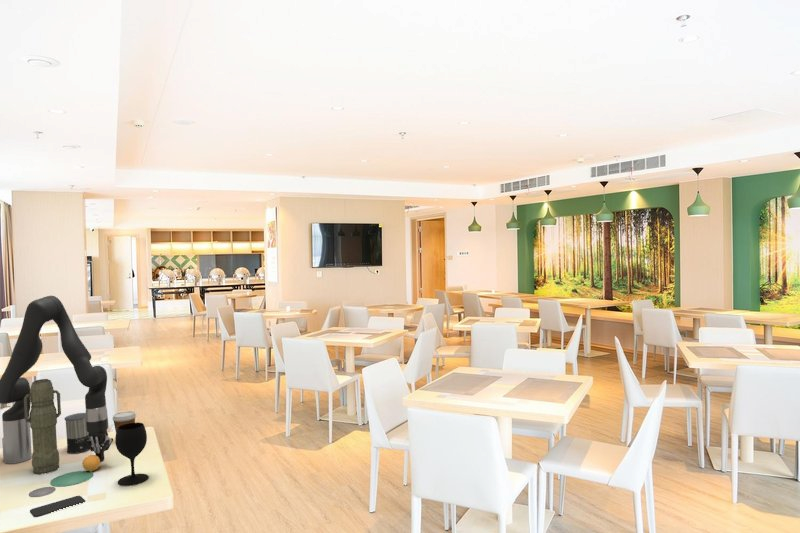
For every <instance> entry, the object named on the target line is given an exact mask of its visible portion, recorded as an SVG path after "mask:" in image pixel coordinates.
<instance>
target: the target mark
mask: <svg viewBox="0 0 800 533" xmlns="http://www.w3.org/2000/svg"><path fill="white" fill-rule="evenodd" d="M93 476H94V471H87V470H76V471H70V472H67V473H63V474H60V475H58V476H56V477H54V478H52V479H51V480H50V482H49V484H50V485H51V487H57V488H58V487H70V486H75V485H79V484H81V483H85V482H86V481H89V480H91V479H92V478H93Z"/></svg>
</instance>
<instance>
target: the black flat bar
mask: <svg viewBox="0 0 800 533" xmlns="http://www.w3.org/2000/svg"><path fill="white" fill-rule="evenodd" d="M83 502H84V503H86V500H85V498H83V496H81V495H76V496H72V497H67V498H64V499H61V500H57V501H54V502H51V503H47V504H44V505H41V506H38V507H33V508H31V509H30V510H29V513H30V514H31V515H32V516H33V517H34V518H39V517H42V516H45V515H48V514H52V513H51V512H53V513H55V512H54V511H56V512H58V511H57V510H59V509H62V510H64V509H63V508H65V509H67V508H66V507H69V506H72V507H74V506H73V505H75V506H77V505H76V504H78V505H80V504H79V503H81V504H84V503H83ZM69 508H70V507H69ZM59 511H60V510H59Z"/></svg>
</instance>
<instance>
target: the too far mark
mask: <svg viewBox="0 0 800 533" xmlns="http://www.w3.org/2000/svg"><path fill="white" fill-rule="evenodd" d="M56 488H57V487H56V486H45V487H40V488H36V489H33V490H32V491H30V492H29V493H28V496H29V497H31V498H40V497H44V496H48V495H50V494H52V493H54V492H55V491H56Z"/></svg>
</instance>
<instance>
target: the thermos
mask: <svg viewBox="0 0 800 533" xmlns="http://www.w3.org/2000/svg"><path fill="white" fill-rule="evenodd" d="M54 394H56V400H57V402H56V403H57V404H56V405H57V406H55V401H54V399H55V395H54ZM28 397H30V412H29V416H30V418H29V419H28V410H27V398H28ZM56 407H57V408H56ZM24 410H25V420H26V422H29V423H30V430H31V440H32V457H31V465H32V473H33V474H34V475H45V473H46V474H50V473H53V472H56V471H57V470H58V468H59V469H60V452H59V449H58V441H57V423H58V418H59V417H60V416H61V415H62V408H61V393H60V392H59V391H58V390H57V389H54V386H53V383H52V380H51V379H48V378H42V379H36V380H34V381H32V382H31V385H30V393H29V394H27V395H26V396H25V397H24ZM49 472H50V473H49Z"/></svg>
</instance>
